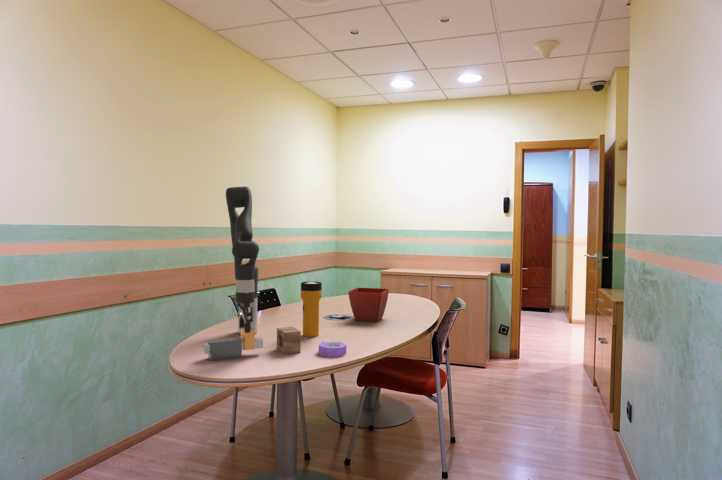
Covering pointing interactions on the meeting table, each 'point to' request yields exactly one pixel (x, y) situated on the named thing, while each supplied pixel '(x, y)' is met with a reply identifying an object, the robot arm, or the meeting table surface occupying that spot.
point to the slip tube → (243, 341)
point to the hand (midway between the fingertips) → (244, 330)
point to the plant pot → (368, 303)
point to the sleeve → (225, 349)
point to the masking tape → (332, 349)
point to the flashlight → (311, 307)
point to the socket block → (288, 340)
